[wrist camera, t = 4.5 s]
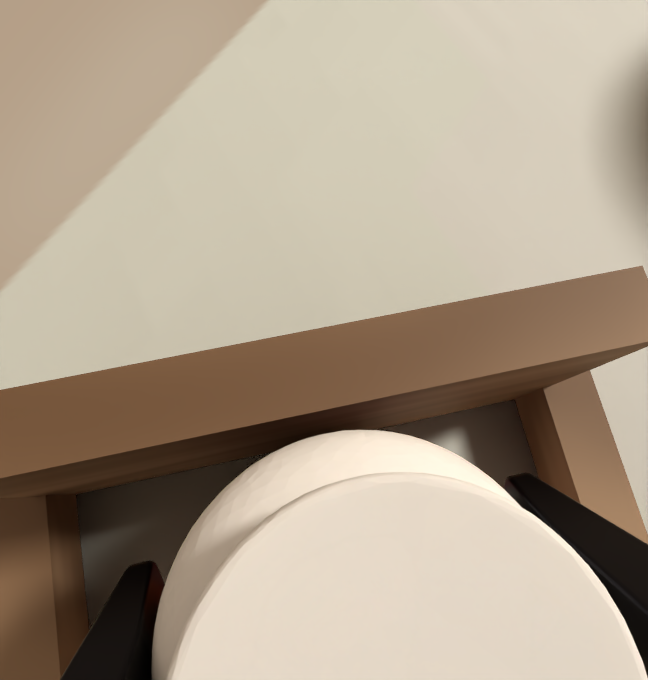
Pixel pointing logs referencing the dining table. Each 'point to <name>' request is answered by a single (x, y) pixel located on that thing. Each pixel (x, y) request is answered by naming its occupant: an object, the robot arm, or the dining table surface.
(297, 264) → the dining table surface
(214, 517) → the pill bottle
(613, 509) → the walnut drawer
